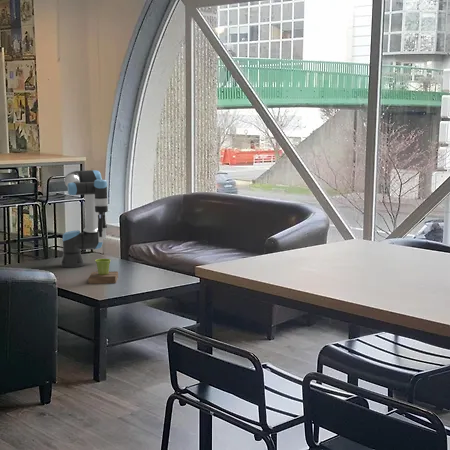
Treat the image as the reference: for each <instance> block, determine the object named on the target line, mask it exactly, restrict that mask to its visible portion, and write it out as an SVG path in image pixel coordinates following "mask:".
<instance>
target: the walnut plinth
mask: <svg viewBox="0 0 450 450" xmlns="http://www.w3.org/2000/svg"><path fill="white" fill-rule="evenodd" d="M118 279H119V271H115V270H114V271H109V273H108V274H107V275H104V274H103V275H99V274H98V271H92V272H91V273H90V275H89V276H88V284H89V285H93V284H95V285H96V284H116V283H117V281H118Z"/></svg>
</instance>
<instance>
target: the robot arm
mask: <svg viewBox="0 0 450 450" xmlns="http://www.w3.org/2000/svg"><path fill="white" fill-rule="evenodd" d="M63 181H64V185H65V187H67V194H68V196H83V195H84V207H85V208H84V214H85V217H84V218H85V223H84V224H85V227H84V228H83V230H82V231H83V232H81V231H80V230H78V229H77V230H70V231H66V232H64V233H62V257H61V261H60V267H62V268H71V269H73V268H80V267H84V265H85V262H84V259H83V256H82V254H81V253H82V252H81V251H82V250H83V251H84V250H99V249H101V248H102V246H103V243H104V240H105V239H107V228H108V226H107V224H106V223H107V221H106V213H108V207H109V206H108V203H109V202H108V201H109V200H108V181H107V179H103V178H102V173H101V172H100V171H99V170H95V169H91V170H74V171H71V172H69V173H68V174H66V176H65V177H64V180H63Z"/></svg>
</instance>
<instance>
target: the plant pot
mask: <svg viewBox="0 0 450 450" xmlns="http://www.w3.org/2000/svg"><path fill="white" fill-rule="evenodd" d="M111 261H112V260H111V259H110V258H97V259H95V260H94V262H95V263H96V269H97V272H98V274H99V275H103V274H104V275H107V274H108V273H109V272H110V271H109V270H110V264H111Z"/></svg>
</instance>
